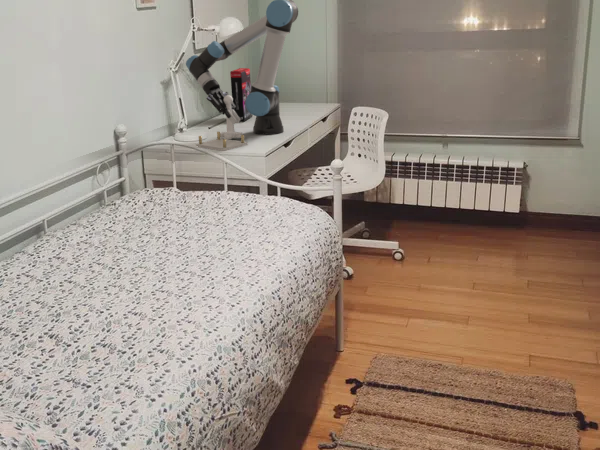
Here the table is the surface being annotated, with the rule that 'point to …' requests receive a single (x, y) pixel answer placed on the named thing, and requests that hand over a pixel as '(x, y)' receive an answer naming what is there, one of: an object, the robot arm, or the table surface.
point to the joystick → (230, 126)
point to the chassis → (221, 143)
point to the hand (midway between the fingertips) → (236, 121)
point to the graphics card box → (241, 91)
